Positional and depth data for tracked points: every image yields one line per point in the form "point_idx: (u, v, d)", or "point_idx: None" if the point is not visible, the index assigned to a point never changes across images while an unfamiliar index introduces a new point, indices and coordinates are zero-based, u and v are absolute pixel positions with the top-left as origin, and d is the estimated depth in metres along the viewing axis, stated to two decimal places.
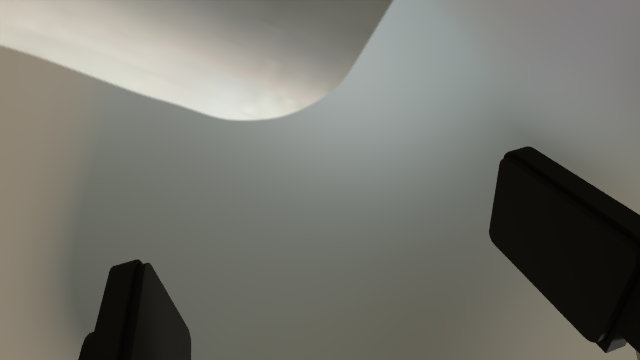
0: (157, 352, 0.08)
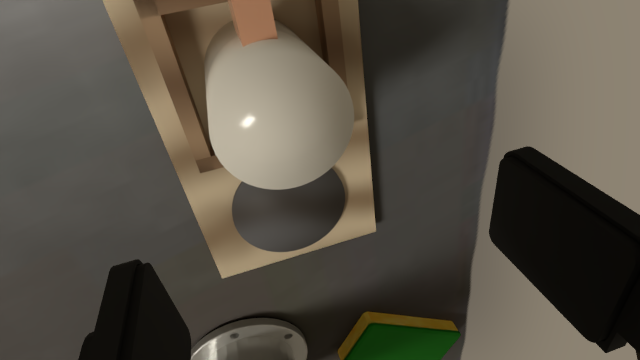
0: (157, 352, 0.08)
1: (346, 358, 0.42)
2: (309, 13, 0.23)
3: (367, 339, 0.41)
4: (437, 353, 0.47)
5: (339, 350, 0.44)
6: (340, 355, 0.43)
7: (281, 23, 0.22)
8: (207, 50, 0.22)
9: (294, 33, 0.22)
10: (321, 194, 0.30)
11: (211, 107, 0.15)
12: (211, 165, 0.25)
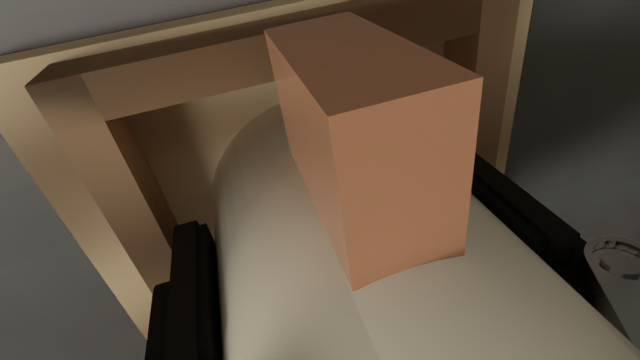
0: None
1: None
2: None
3: None
4: None
5: None
6: None
7: None
8: (219, 172, 0.10)
9: None
10: None
11: None
12: None
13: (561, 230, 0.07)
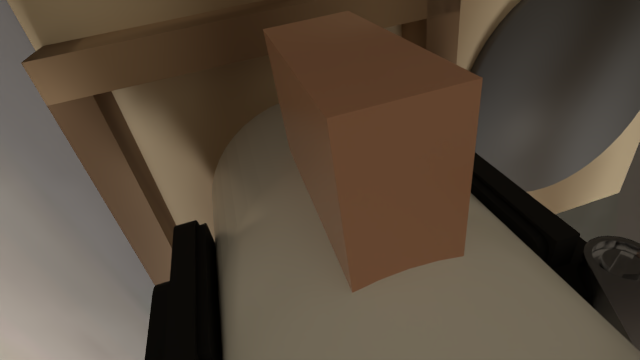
0: None
1: None
2: (174, 76, 0.11)
3: None
4: None
5: None
6: None
7: None
8: (219, 172, 0.10)
9: None
10: (573, 27, 0.13)
11: None
12: None
13: (561, 230, 0.07)
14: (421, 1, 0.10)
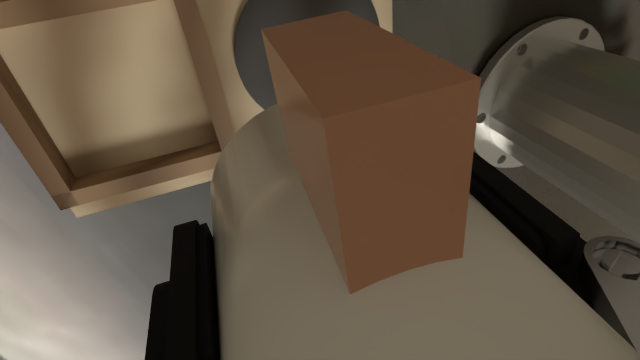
0: None
1: None
2: (28, 29, 0.18)
3: None
4: None
5: None
6: None
7: None
8: (218, 172, 0.10)
9: None
10: (297, 7, 0.21)
11: None
12: None
13: (561, 230, 0.07)
14: None
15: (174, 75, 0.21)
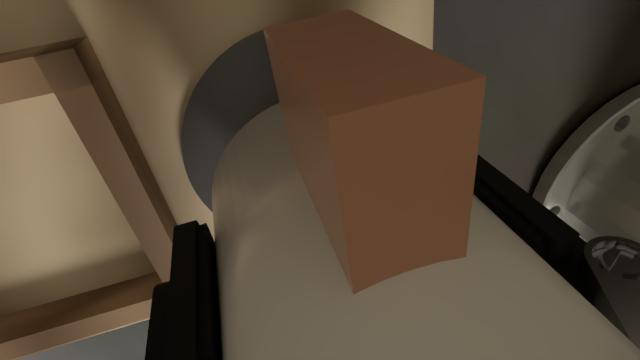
0: None
1: None
2: None
3: None
4: None
5: None
6: None
7: None
8: (219, 172, 0.10)
9: None
10: None
11: None
12: None
13: (561, 230, 0.07)
14: (38, 78, 0.10)
15: (90, 191, 0.14)
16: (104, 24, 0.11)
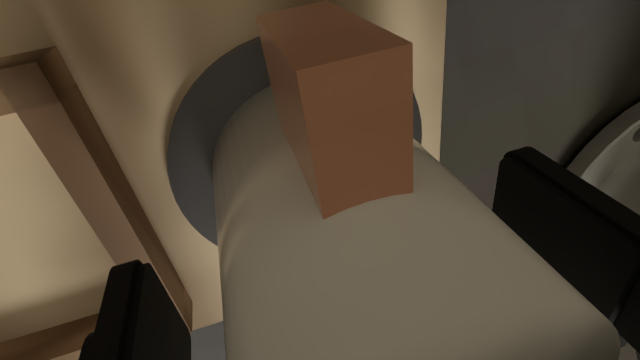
0: (157, 352, 0.08)
1: None
2: None
3: None
4: None
5: None
6: None
7: None
8: (219, 146, 0.11)
9: None
10: None
11: None
12: None
13: None
14: None
15: (65, 216, 0.12)
16: (75, 32, 0.10)
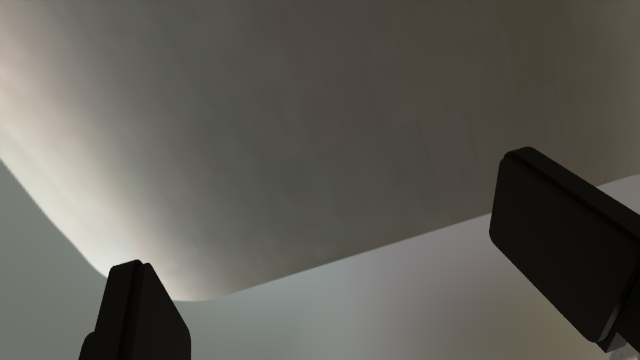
0: (157, 352, 0.08)
1: None
2: None
3: None
4: None
5: None
6: None
7: None
8: None
9: None
10: None
11: None
12: None
13: None
14: None
15: None
16: None
